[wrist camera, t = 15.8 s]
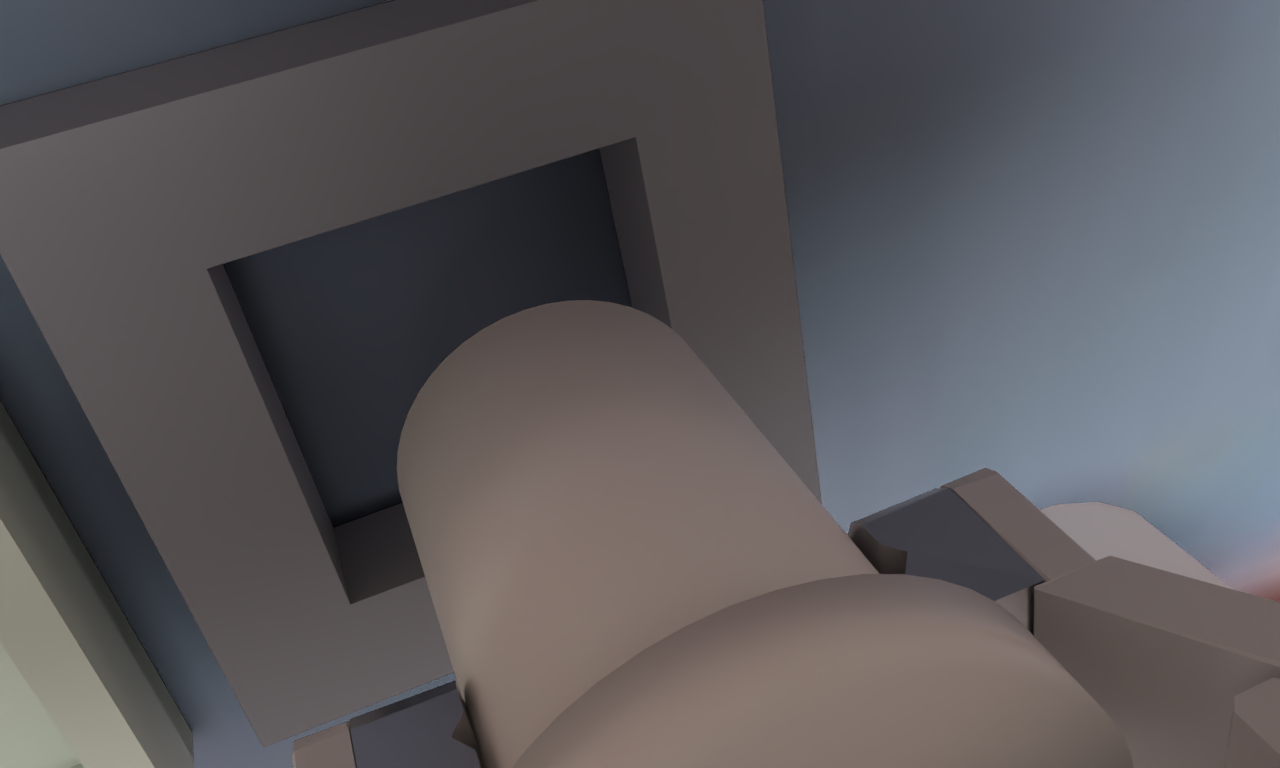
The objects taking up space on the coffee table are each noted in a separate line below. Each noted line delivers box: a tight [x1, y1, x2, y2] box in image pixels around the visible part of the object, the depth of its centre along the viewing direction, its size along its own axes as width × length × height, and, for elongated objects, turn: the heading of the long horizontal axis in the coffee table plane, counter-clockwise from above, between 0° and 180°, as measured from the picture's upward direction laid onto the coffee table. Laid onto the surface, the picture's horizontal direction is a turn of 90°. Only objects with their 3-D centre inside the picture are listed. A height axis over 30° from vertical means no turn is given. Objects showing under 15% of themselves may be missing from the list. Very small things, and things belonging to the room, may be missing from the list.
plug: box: [397, 300, 1134, 768], centre depth 11 cm, size 5×5×7 cm
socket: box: [0, 0, 822, 747], centre depth 13 cm, size 10×17×8 cm, turn 11°
